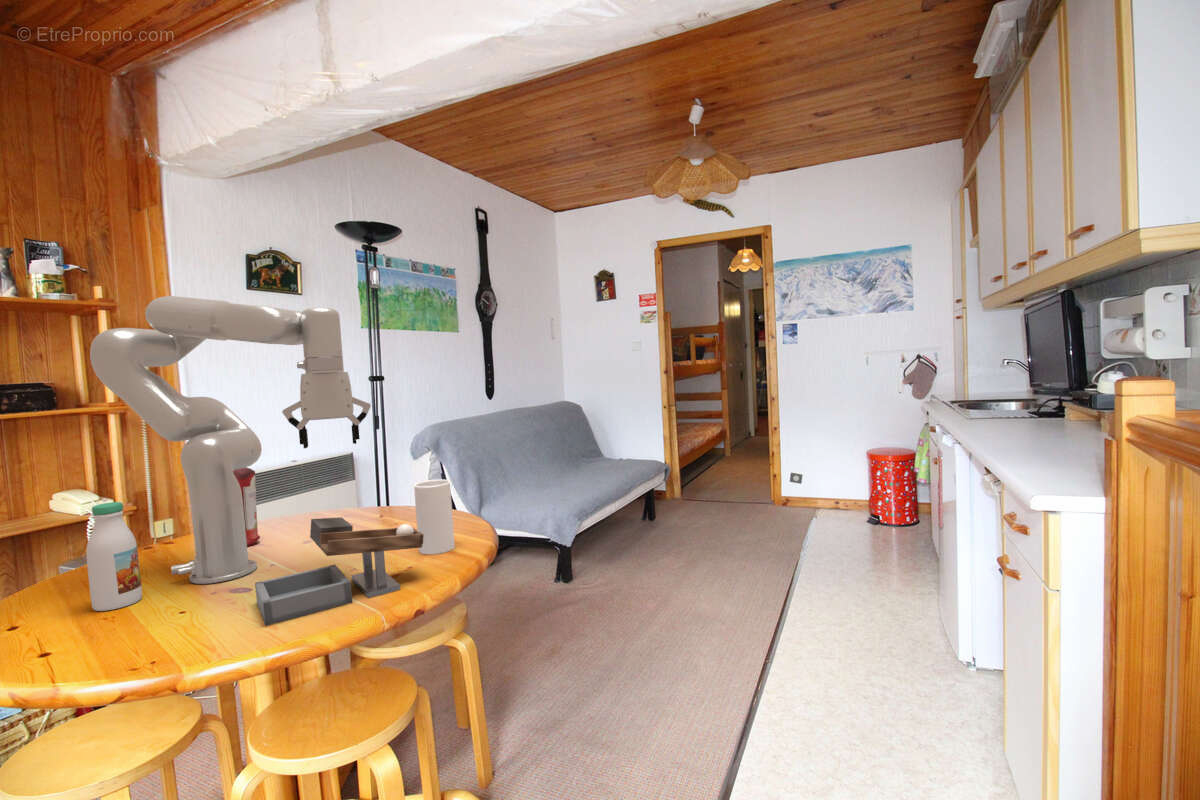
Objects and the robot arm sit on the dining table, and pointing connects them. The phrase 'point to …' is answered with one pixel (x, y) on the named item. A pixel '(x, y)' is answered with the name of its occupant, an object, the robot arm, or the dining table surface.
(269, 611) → the tray
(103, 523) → the milk bottle
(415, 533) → the trough
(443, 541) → the cup
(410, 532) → the ball
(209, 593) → the dining table surface
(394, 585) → the pivot stand
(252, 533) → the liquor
